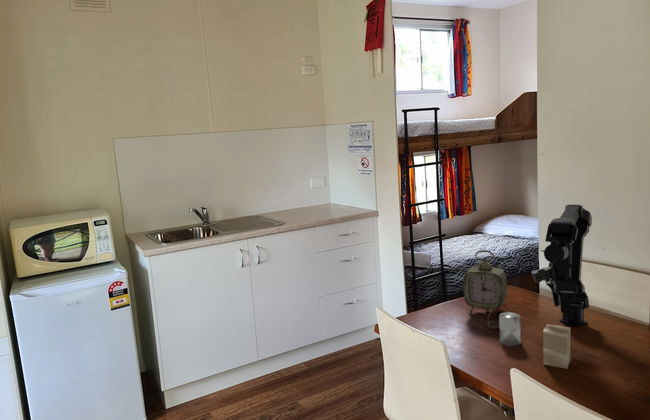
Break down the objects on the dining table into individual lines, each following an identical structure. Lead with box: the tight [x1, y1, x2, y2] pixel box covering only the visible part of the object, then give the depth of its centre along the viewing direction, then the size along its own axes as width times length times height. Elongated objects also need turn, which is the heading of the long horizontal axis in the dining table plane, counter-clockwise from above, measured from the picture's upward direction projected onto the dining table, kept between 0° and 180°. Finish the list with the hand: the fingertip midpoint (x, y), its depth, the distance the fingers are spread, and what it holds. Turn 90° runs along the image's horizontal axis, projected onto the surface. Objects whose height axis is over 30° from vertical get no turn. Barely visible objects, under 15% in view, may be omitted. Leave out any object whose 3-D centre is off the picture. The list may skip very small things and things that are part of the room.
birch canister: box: [542, 323, 571, 370], centre depth 146 cm, size 6×6×10 cm
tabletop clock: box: [462, 249, 508, 315], centre depth 187 cm, size 14×9×25 cm, turn 58°
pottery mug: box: [486, 307, 509, 330], centre depth 175 cm, size 12×10×8 cm
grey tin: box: [499, 311, 522, 347], centre depth 163 cm, size 6×6×9 cm
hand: (559, 309), depth 156 cm, fingers open, 9 cm apart
